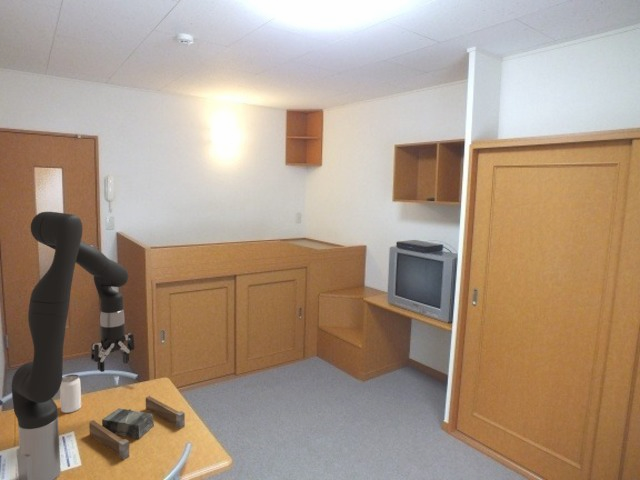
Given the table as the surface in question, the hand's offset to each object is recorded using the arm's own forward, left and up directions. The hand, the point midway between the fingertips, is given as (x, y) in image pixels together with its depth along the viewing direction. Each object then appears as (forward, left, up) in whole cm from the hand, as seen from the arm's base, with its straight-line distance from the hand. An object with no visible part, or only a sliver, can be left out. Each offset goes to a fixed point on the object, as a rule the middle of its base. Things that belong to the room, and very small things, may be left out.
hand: (113, 366), depth 147 cm
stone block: (-1, -10, -19) cm, 22 cm away
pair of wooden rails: (0, -14, -19) cm, 23 cm away
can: (-7, +17, -19) cm, 26 cm away
